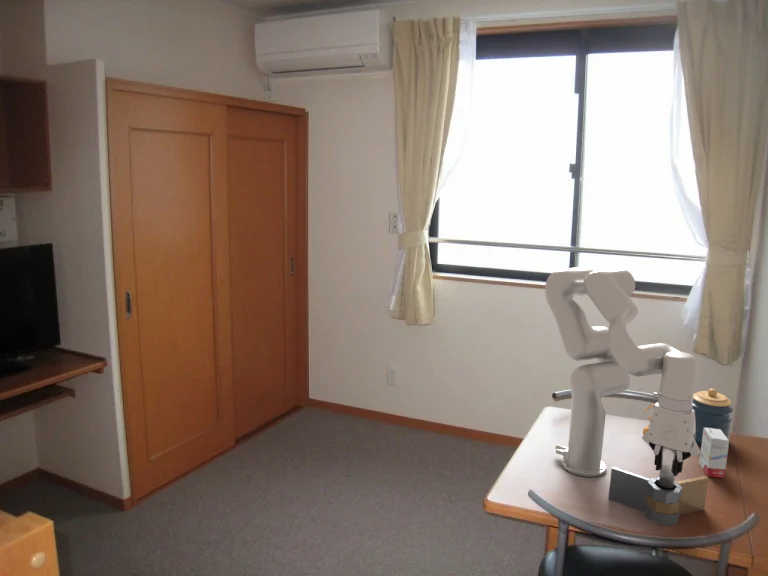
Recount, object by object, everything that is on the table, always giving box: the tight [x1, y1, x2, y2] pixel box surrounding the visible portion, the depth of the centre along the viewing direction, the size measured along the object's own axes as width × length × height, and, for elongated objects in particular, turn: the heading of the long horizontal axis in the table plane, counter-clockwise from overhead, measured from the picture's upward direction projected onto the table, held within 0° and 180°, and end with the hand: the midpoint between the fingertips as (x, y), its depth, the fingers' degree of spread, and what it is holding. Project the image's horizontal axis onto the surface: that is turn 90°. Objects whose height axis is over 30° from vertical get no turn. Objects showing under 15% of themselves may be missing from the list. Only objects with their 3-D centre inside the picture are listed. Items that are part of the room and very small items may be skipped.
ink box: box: [698, 428, 730, 479], centre depth 186 cm, size 9×5×12 cm, turn 168°
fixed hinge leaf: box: [608, 466, 682, 527], centre depth 164 cm, size 17×7×9 cm, turn 50°
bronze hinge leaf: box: [647, 475, 709, 516], centre depth 163 cm, size 17×7×9 cm, turn 109°
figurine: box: [642, 402, 657, 436], centre depth 207 cm, size 8×6×12 cm
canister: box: [692, 387, 734, 446], centre depth 206 cm, size 13×13×18 cm
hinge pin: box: [658, 447, 677, 488], centre depth 159 cm, size 4×4×12 cm
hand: (667, 470), depth 159 cm, fingers closed on hinge pin, 3 cm apart
